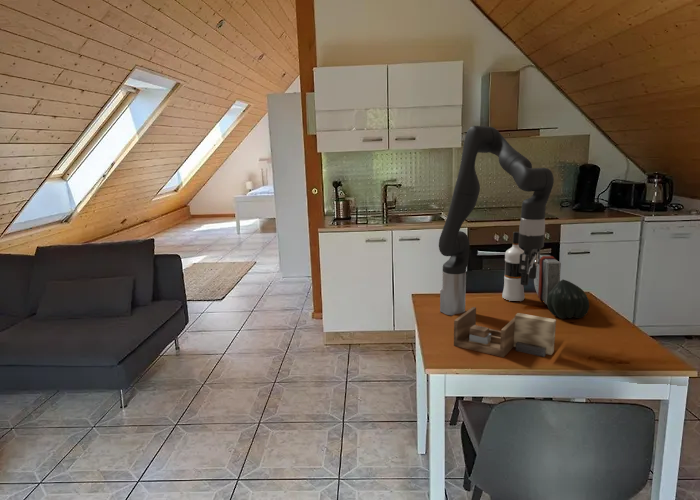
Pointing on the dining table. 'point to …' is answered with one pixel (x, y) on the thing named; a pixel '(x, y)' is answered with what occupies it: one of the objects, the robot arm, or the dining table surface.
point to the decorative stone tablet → (546, 276)
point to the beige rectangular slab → (535, 331)
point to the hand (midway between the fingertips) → (528, 281)
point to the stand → (531, 349)
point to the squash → (567, 300)
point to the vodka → (513, 272)
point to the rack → (499, 339)
